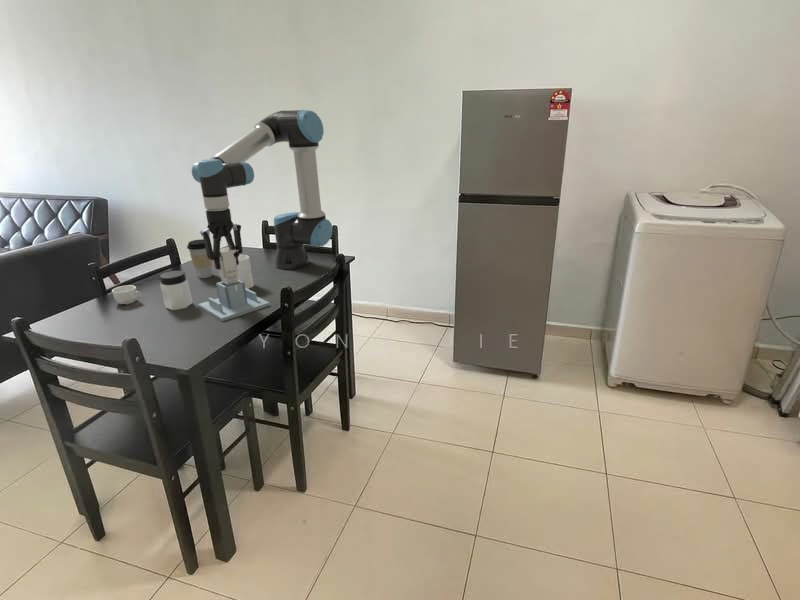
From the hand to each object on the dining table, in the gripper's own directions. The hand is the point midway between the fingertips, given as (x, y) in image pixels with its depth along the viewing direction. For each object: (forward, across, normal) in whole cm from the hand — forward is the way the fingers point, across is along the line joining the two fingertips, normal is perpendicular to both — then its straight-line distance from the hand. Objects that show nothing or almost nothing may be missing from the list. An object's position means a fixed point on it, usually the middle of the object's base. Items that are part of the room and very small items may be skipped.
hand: (229, 275), depth 158 cm
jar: (+12, +13, -16) cm, 24 cm away
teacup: (+12, +24, -33) cm, 43 cm away
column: (+10, 0, 0) cm, 10 cm away
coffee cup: (+12, -8, -41) cm, 43 cm away
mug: (+12, -11, -16) cm, 23 cm away
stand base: (+12, 0, 0) cm, 12 cm away
